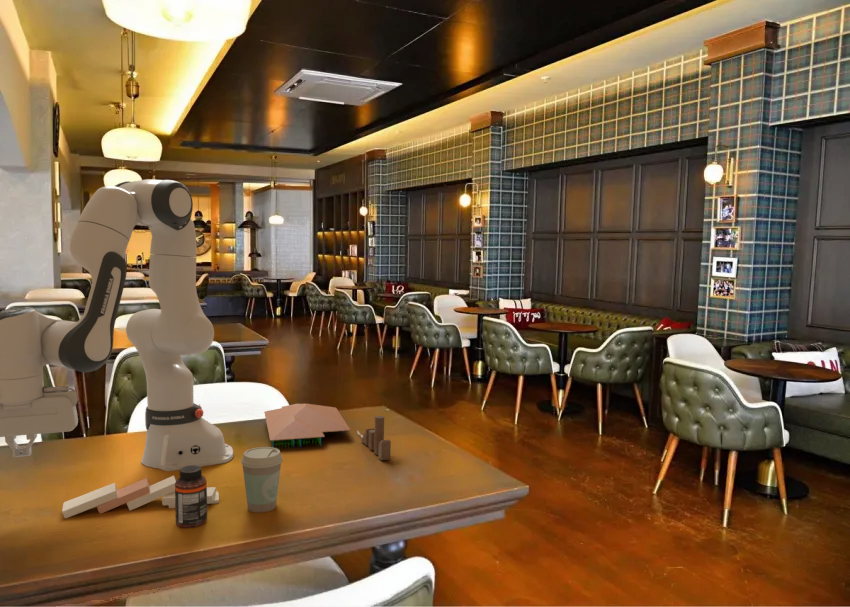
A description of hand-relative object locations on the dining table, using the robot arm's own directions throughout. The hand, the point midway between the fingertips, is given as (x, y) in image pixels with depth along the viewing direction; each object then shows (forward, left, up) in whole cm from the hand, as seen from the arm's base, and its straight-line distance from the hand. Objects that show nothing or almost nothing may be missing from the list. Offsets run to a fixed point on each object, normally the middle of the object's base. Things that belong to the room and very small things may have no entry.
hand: (22, 455), depth 126 cm
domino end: (-8, +3, -11) cm, 14 cm away
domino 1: (-14, +2, -11) cm, 18 cm away
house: (-63, -43, -13) cm, 78 cm away
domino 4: (-28, +3, -12) cm, 30 cm away
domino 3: (-27, +3, -11) cm, 29 cm away
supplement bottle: (-32, +14, -12) cm, 37 cm away
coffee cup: (-46, +10, -12) cm, 49 cm away
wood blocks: (-79, -23, -12) cm, 83 cm away
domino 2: (-20, +3, -11) cm, 23 cm away
